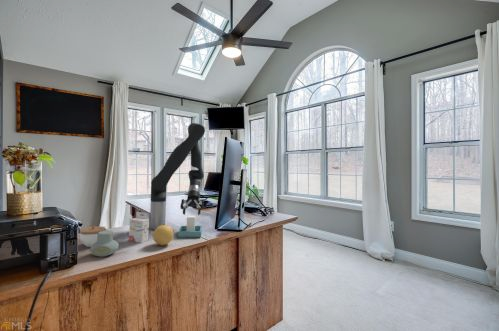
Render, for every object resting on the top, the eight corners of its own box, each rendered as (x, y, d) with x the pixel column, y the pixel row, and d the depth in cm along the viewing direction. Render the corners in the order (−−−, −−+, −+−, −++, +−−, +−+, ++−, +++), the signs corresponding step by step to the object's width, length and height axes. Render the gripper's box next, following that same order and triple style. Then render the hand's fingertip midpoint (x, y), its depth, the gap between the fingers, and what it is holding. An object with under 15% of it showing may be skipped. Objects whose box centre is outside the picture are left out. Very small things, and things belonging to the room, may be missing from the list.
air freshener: (86, 258, 99) (87, 235, 99) (94, 251, 107) (95, 229, 107) (115, 257, 101) (115, 234, 101) (120, 250, 110) (121, 229, 109)
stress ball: (169, 249, 115) (180, 233, 121) (156, 237, 110) (169, 220, 117) (157, 248, 120) (169, 232, 127) (145, 236, 116) (158, 220, 123)
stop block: (186, 234, 135) (186, 217, 135) (186, 232, 139) (187, 215, 139) (194, 234, 136) (194, 217, 136) (194, 232, 140) (195, 215, 140)
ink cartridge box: (128, 241, 122) (129, 213, 122) (135, 238, 127) (136, 211, 127) (141, 243, 120) (142, 214, 120) (148, 240, 125) (149, 213, 125)
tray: (177, 237, 130) (178, 231, 130) (180, 231, 143) (181, 225, 143) (200, 237, 132) (201, 231, 132) (201, 231, 145) (202, 225, 145)
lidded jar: (83, 242, 118) (83, 223, 118) (107, 240, 122) (108, 222, 122) (76, 249, 108) (76, 229, 108) (102, 247, 112) (103, 228, 112)
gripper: (182, 189, 149) (178, 210, 138) (204, 190, 151) (203, 211, 140) (183, 196, 154) (179, 217, 143) (204, 197, 157) (203, 217, 145)
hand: (191, 214), depth 142 cm, fingers open, 8 cm apart
